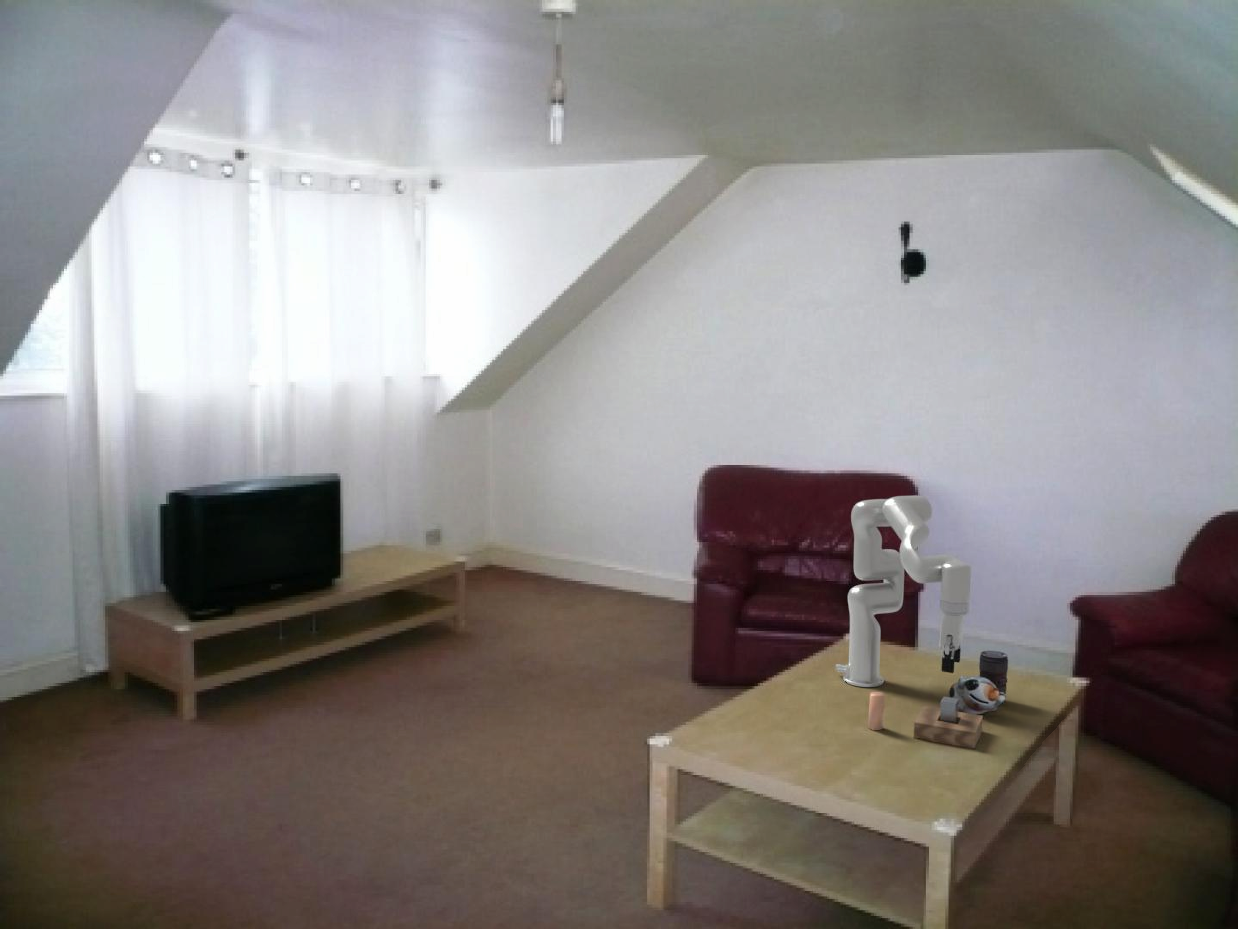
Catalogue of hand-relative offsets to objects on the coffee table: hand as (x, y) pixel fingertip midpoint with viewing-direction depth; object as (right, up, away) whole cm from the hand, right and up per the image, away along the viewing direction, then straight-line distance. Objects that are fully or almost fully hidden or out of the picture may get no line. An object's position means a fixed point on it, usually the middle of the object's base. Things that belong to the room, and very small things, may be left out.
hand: (950, 666), depth 284 cm
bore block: (0, -19, +2) cm, 19 cm away
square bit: (0, -19, +2) cm, 19 cm away
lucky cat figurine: (+14, -17, +20) cm, 30 cm away
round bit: (-19, -19, +6) cm, 28 cm away
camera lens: (+22, -16, +28) cm, 39 cm away
